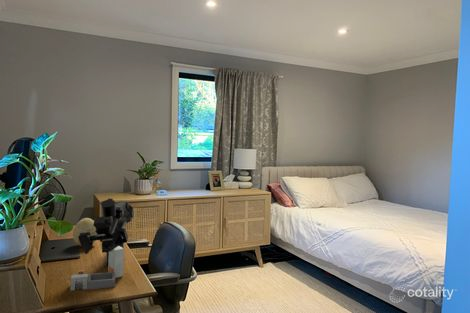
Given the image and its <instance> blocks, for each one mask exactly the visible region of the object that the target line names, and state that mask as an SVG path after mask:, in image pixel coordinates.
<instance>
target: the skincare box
mask: <svg viewBox="0 0 470 313" xmlns="http://www.w3.org/2000/svg"><path fill="white" fill-rule="evenodd" d="M124 259H125V247H124V248H122V247H120V246H118V247H116V248H115V249H113V250H112V251H110V252H109V261H108V267H107V268H108V269H107V272H115V279H117V278H120V277H124V264H125V263H124V261H125V260H124Z"/></svg>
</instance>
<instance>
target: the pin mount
mask: <svg viewBox="0 0 470 313" xmlns="http://www.w3.org/2000/svg"><path fill="white" fill-rule="evenodd" d="M88 274H89V273H84V274H80V275H78V274H71V276H70V287H69V288H70V291H71V292H72V291H75V290H76V283H77V280H83V284H82V290H87V283H88Z"/></svg>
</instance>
